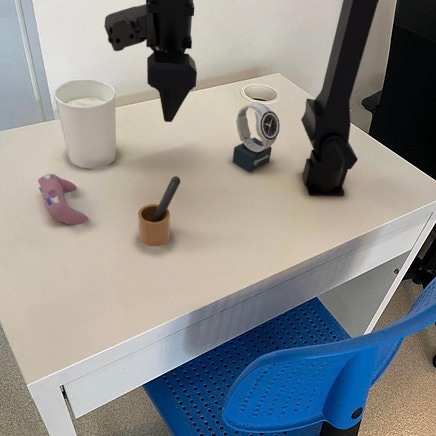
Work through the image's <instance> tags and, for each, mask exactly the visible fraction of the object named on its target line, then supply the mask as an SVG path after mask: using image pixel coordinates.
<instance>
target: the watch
mask: <svg viewBox="0 0 436 436" xmlns="http://www.w3.org/2000/svg"><path fill="white" fill-rule="evenodd" d="M248 109H252V110H254V111H255V112H254V116H255V131H256V134H257V136H258V137H259V138H260V139H259V138H257V137H251V135H252V134H251V130H250V127H249V120H248V117H247V111H248ZM235 123H236V129H237V133H238V137H239V139H240V141H241V143H239V144H238V145H236V146H234V147H233V152H232V153H233V154H232V163H233V164H235V165H236V166H238V167H239V168H241V169H243V170H245V171H246V172H248V173H251V172H254V171H255V170H257V169H259V168H262V167H263V166H265V165H266V164H269V163H270V161H271V155H272V148H273V147H272V146H273V145H274V143H275V142H276V140H277V137H278V136H279V133H280V130H281V129H280V128H281V123H280V119H279V117H278V115H277V114H276V113H275V111H272V110H271V108H270V107H269V106H267V105H265V104H264V103H262V102H259V101H258V102H257V101H255V102H252V103H249V104H247V105H244V106H242V107H241V108H240V109H239V110H238V112H237V114H236V121H235Z"/></svg>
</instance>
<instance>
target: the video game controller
mask: <svg viewBox="0 0 436 436" xmlns="http://www.w3.org/2000/svg"><path fill="white" fill-rule="evenodd" d="M37 182H38V184H39V187H38V191H39V192H40V193H41V194H42V196H43V197H44V199H45V201H44V206H45V208H46V211H47V212H48V213H49V214H50V216H51V218H53V219H54V220H55V221H56V222H61V223H63V224H66V225H70V226H76V225H81V224H85V223H86V222H89V220H90V218H89V217H88V216H87V214H85V213H83V212H81V211H78V210H76V209H74V208H73V207H70V206H69V205H68V204H67V201H66V198H65V196H64V194H65V193H69V192H73V191H76V190H77V189H78V187H77V185H75V184H74V182H72V181H69V180H66V179H64V178H61V177H60V176H57V174H54V173H49V174H44V175H43V176H41V177H39V178H38V179H37Z"/></svg>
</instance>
